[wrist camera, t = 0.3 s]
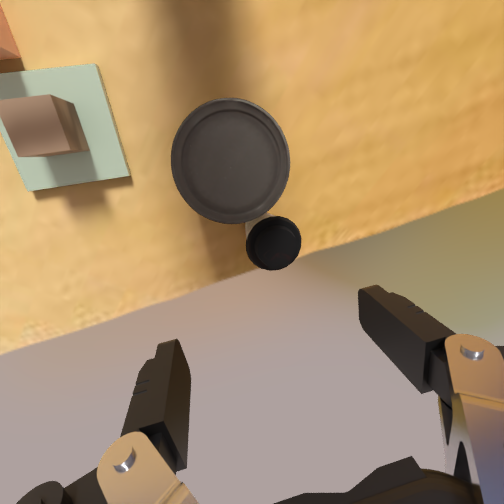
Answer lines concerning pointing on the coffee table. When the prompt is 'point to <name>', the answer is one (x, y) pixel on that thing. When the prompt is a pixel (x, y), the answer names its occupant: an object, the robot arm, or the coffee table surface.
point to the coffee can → (230, 160)
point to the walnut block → (42, 126)
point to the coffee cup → (272, 241)
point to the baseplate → (91, 118)
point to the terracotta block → (7, 40)
